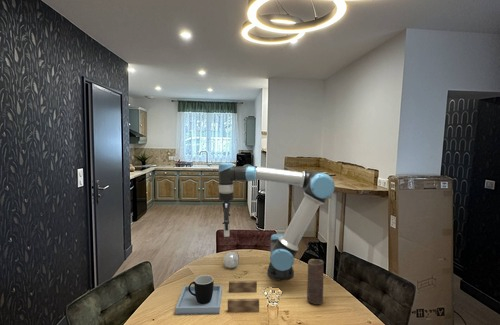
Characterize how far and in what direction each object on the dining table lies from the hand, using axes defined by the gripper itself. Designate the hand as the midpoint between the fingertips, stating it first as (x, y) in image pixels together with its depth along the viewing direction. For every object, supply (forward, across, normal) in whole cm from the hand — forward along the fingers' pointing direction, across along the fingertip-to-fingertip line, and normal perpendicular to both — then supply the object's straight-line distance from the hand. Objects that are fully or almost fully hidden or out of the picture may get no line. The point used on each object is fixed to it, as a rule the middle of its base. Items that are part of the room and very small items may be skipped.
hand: (226, 232), depth 144 cm
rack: (+28, +17, +7) cm, 33 cm away
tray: (+28, +16, -13) cm, 35 cm away
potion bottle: (+28, -22, +2) cm, 36 cm away
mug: (+27, +16, -13) cm, 34 cm away
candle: (+29, +20, +41) cm, 54 cm away
